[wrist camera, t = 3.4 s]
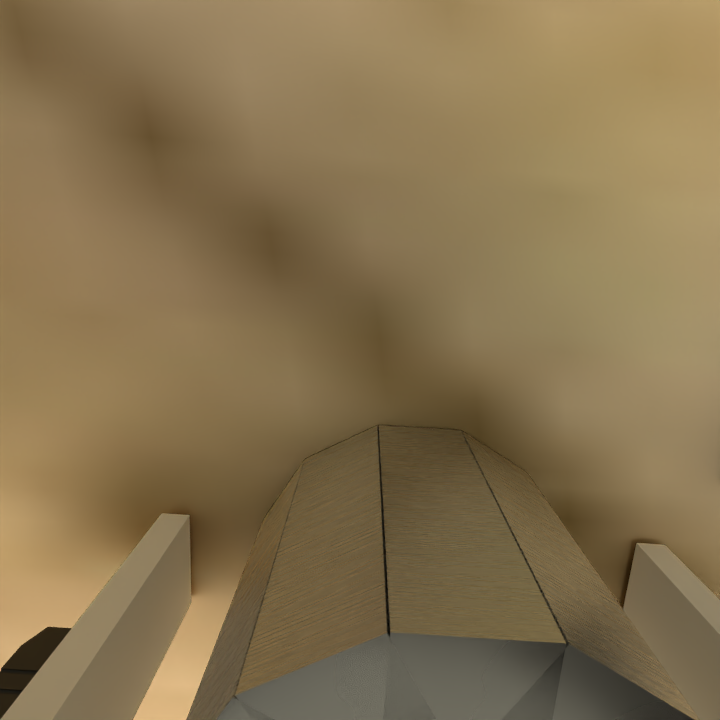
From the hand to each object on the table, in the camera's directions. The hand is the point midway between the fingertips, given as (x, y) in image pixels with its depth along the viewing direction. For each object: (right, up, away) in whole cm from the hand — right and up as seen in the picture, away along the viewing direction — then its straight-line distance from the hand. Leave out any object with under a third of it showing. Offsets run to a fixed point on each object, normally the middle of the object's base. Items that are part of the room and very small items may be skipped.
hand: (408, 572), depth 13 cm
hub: (0, 0, 0) cm, 0 cm away
